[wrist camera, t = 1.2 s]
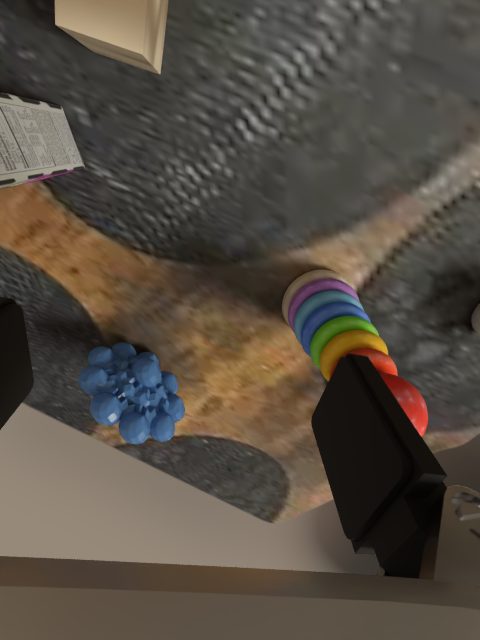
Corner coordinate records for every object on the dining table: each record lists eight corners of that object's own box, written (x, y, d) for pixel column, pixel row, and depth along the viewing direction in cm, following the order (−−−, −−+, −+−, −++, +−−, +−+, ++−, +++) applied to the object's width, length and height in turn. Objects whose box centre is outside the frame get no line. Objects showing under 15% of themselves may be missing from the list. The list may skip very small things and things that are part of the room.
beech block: (95, -41, 20) (52, -105, 15) (170, -13, 21) (152, -64, 16) (93, 52, 23) (55, 24, 18) (160, 74, 24) (142, 54, 18)
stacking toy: (275, 328, 36) (318, 478, 20) (287, 263, 32) (353, 386, 16) (339, 332, 37) (431, 480, 20) (359, 269, 33) (492, 392, 16)
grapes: (207, 352, 37) (201, 432, 27) (179, 387, 40) (164, 472, 29) (118, 305, 33) (70, 377, 23) (94, 347, 36) (41, 428, 26)
